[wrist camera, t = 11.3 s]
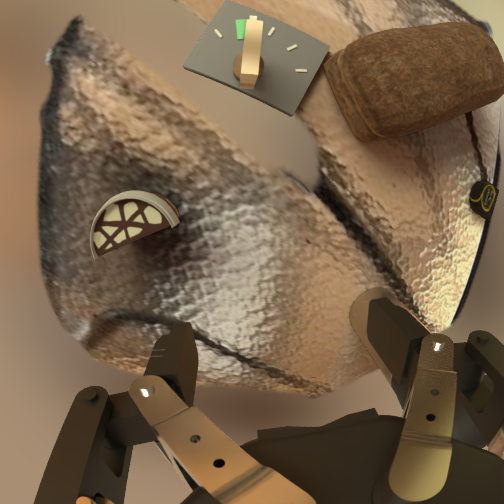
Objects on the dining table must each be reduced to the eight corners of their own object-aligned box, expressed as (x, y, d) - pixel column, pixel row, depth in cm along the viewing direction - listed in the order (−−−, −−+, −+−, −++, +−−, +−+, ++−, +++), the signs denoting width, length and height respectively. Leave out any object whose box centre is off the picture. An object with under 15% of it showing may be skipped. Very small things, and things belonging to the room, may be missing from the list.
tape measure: (480, 218, 46) (492, 222, 42) (462, 204, 45) (474, 208, 41) (490, 188, 44) (502, 191, 41) (472, 172, 43) (485, 175, 39)
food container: (173, 171, 40) (156, 175, 31) (189, 210, 42) (177, 225, 33) (102, 203, 41) (72, 217, 31) (118, 240, 43) (91, 261, 33)
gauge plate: (290, 116, 39) (293, 115, 37) (184, 68, 36) (182, 65, 34) (327, 49, 36) (330, 46, 34) (226, 4, 32) (226, -1, 31)
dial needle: (260, 94, 36) (268, 75, 27) (230, 92, 36) (230, 72, 27) (267, 19, 32) (276, -13, 23) (239, 16, 32) (241, -17, 23)
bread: (475, 101, 39) (534, 97, 24) (349, 150, 41) (406, 150, 26) (446, 33, 34) (499, 12, 19) (308, 63, 37) (345, 23, 22)
